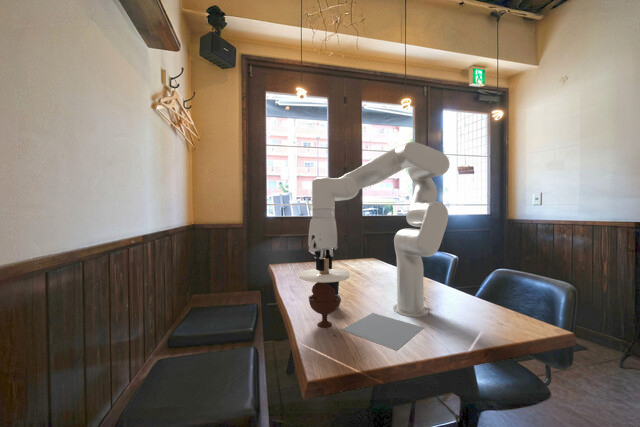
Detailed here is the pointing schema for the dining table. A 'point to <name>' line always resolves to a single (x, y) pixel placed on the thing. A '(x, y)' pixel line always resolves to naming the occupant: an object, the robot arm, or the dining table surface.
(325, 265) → the lid
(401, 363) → the dining table surface
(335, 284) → the drinking cup
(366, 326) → the mat
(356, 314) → the dining table surface
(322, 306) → the ice cream bowl
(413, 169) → the robot arm
